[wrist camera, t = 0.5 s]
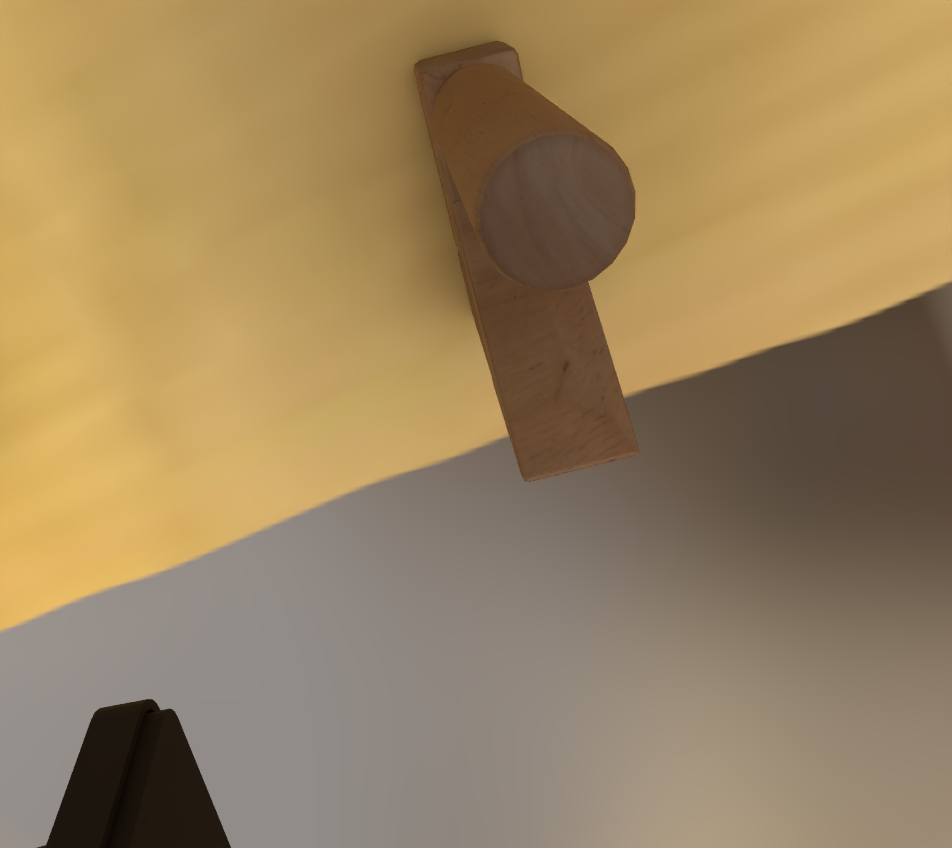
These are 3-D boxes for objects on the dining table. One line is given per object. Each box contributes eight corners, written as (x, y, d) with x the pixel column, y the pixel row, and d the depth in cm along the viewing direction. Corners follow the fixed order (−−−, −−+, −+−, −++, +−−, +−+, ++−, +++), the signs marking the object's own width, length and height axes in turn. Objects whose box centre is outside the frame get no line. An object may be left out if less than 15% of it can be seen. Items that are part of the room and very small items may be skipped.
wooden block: (473, 320, 39) (547, 562, 24) (410, 61, 35) (451, 145, 19) (555, 299, 39) (685, 527, 23) (504, 37, 34) (626, 101, 19)
